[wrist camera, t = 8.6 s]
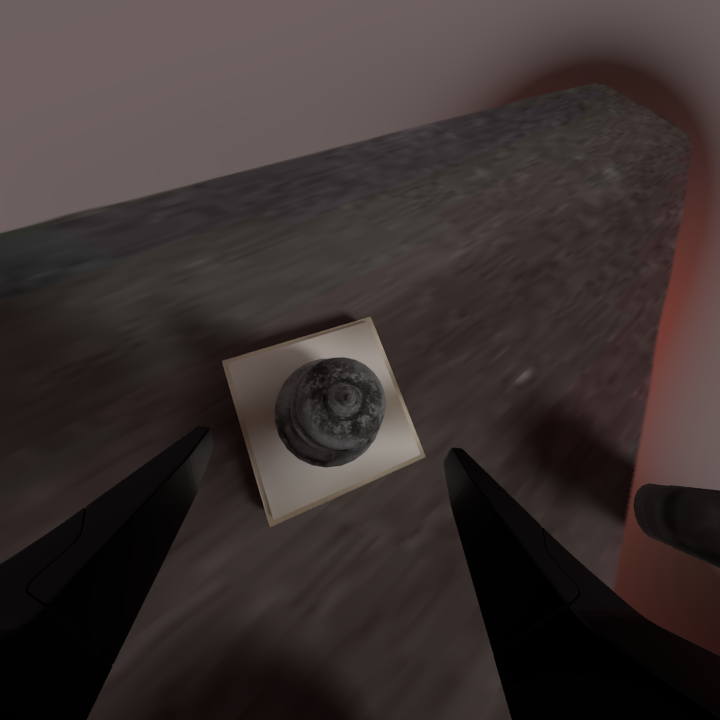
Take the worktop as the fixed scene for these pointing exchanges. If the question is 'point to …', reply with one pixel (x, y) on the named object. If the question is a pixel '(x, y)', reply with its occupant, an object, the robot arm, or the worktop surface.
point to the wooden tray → (267, 451)
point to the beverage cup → (681, 519)
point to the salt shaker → (330, 411)
